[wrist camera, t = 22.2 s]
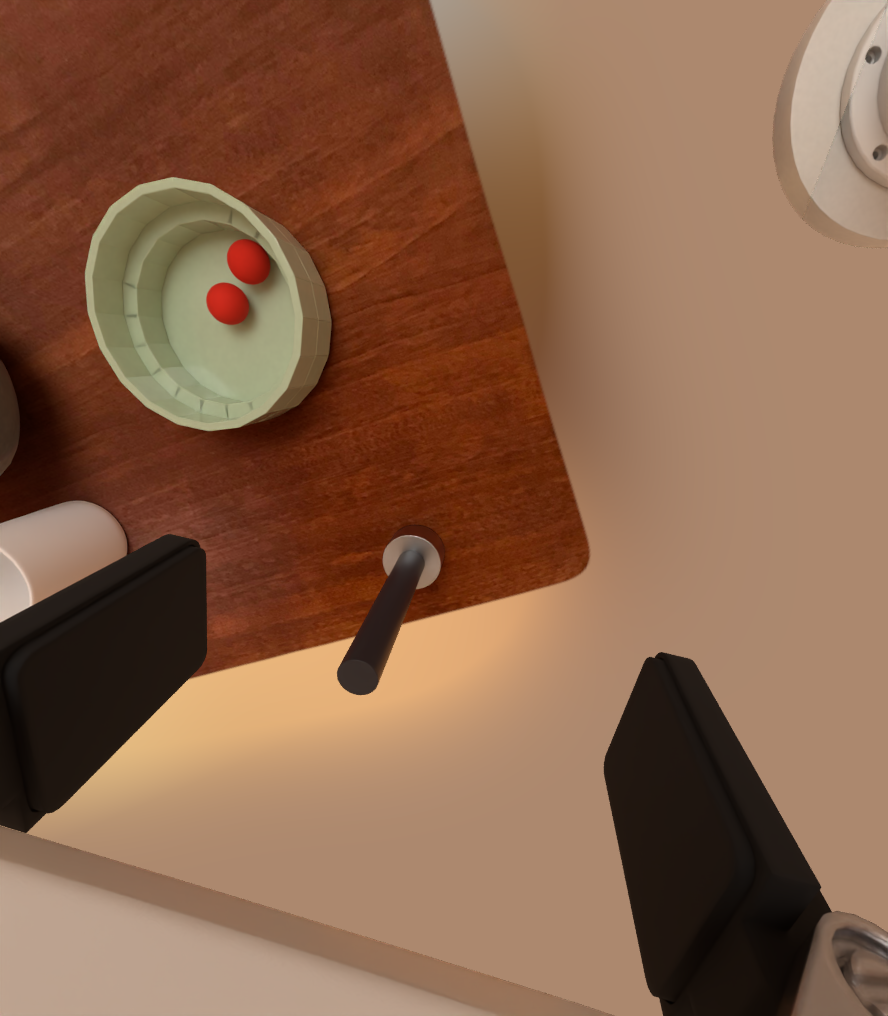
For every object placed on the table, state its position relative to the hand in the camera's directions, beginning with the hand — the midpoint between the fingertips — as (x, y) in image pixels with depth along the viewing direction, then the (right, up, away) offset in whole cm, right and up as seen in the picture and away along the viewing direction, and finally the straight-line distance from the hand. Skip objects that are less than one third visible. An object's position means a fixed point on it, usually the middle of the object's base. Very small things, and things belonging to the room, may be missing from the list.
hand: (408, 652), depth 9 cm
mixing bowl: (-16, +19, +28) cm, 37 cm away
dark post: (-2, -1, +33) cm, 33 cm away
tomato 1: (-16, +19, +26) cm, 36 cm away
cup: (-34, -1, +38) cm, 51 cm away
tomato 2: (-14, +21, +25) cm, 35 cm away
